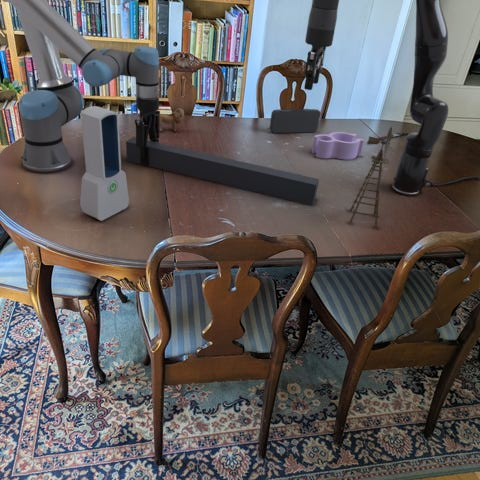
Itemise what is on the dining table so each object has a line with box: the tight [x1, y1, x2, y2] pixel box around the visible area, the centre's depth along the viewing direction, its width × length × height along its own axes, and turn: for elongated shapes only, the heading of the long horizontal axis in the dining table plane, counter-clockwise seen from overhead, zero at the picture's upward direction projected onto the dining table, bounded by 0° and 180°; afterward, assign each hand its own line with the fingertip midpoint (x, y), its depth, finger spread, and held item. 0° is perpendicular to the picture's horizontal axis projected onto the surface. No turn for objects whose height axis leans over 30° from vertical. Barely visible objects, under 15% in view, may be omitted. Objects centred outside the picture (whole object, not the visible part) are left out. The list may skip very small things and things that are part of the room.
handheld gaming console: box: [269, 108, 322, 134], centre depth 207 cm, size 23×3×10 cm, turn 108°
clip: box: [311, 131, 366, 161], centre depth 190 cm, size 20×12×7 cm, turn 109°
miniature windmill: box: [349, 126, 393, 228], centre depth 139 cm, size 9×8×30 cm
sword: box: [376, 132, 410, 141], centre depth 214 cm, size 31×3×1 cm, turn 126°
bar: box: [125, 136, 320, 206], centre depth 160 cm, size 68×5×7 cm, turn 71°
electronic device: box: [79, 105, 130, 222], centre depth 129 cm, size 12×8×30 cm, turn 148°
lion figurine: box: [159, 107, 185, 133], centre depth 195 cm, size 15×5×9 cm, turn 110°
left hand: (148, 161), depth 168 cm, fingers closed on bar, 5 cm apart
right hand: (311, 86), depth 136 cm, fingers open, 8 cm apart
